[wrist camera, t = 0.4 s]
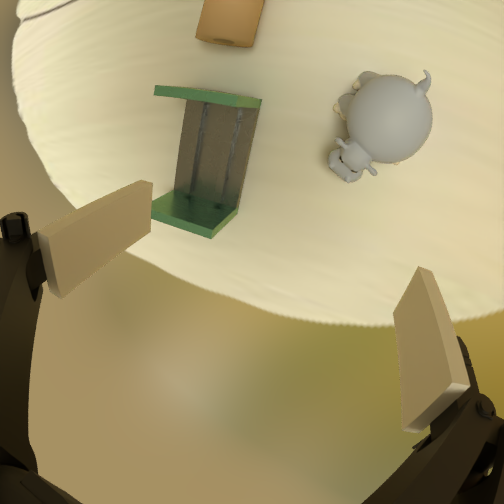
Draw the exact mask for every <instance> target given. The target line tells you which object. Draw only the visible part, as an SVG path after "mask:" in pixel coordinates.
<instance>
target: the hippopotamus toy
mask: <svg viewBox="0 0 504 504" xmlns="http://www.w3.org/2000/svg"><path fill="white" fill-rule="evenodd" d="M423 71H424V73H425V74H426V79H423V80H421V81H420V82H419V83H418V84H417V85H415V84H414V83H413V82H411V81H410V80H408V79H406V78H404V77H402V76H397V75H383V76H381V75H379V74H376V73H374V72H370V71H366V72H363V73H362V74H360V76H359V78H358V80H357V81H356V82H355V83H354V84H353V88H354V89H355V90H358V92H357V93H356V94H355V95H352V94H345V95H343V96H341V97H340V99H339V101H338V103H337V104H335V105H334V107H333V110H334V111H335V112H337V113H340V117H341V118H342V119H343V120H347V130H348V134H349V137H350V138H348V139H347V140H346V141H344V142H343V140H342V139H341V138H339V137H336V138H335V142H336V143H337V144H338V145H340V146H341V148H339V149H335V150H333V151H331V152H330V154H329V158H328V166H329V168H330V169H331V170H332V171H333V172H334V173H336V174H337V175H338V176H339V177H340V178H341V179H343V180H344V181H346V182H347V183H350V182H355V181H357V180H359V179H360V178H361V176H362V172H363V169H365V168H366V169H367V170H368V171H369V172H370V173H371V174H372V175H373V176H376V175H377V171H376V170H375V169H374V168H372V167H371V166H370V163H371V162H372V161H375V162H379V163H393V164H394V165H398V164H399V163H400V162H401V161H403V160H406V159H408V158H409V157H411V156H412V155H414V154H415V153H416V152H417V151H418V150H419V149H420V148H421V147H422V146H423V144H424V143H425V141H426V140H427V138H428V136H429V134H430V131H431V128H432V109H431V105H430V102H429V100H428V98H427V97H426V95H425V94H426V93H427V91H428V89H429V88H430V85H431V76H430V74H429V72H428V71H427V70H423Z"/></svg>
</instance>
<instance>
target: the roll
mask: <svg viewBox="0 0 504 504" xmlns="http://www.w3.org/2000/svg"><path fill="white" fill-rule="evenodd" d="M263 3H264V0H205V1H204V5H203V9H202V12H201V16H200V20H199V24H198V28H197V32H196V36H195V37H196V38H197V39H199V40H202V41H206V42H210V43H215V44H221V45H228V46H238V47H251V46H253V42H254V38H255V34H256V30H257V26H258V22H259V18H260V14H261V10H262V6H263Z"/></svg>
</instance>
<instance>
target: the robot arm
mask: <svg viewBox="0 0 504 504" xmlns="http://www.w3.org/2000/svg"><path fill="white" fill-rule="evenodd" d="M152 188H153V183H151V182H147V181H143V180H139V181H137V182H135V183H133V184H130V185H128V186H126V187H123V188H121V189H119V190H117V191H115V192H112V193H110V194H108V195H106V196H104V197H102V198H100V199H98V200H95V201H93V202H91V203H89V204H87V205H85V206H83V207H81V208H79V209H77V210H75V211H73V212H71V213H70V214H68V215H66V216H64V217H62V218H60V219H58V220H56V221H54V222H53V223H51V224H49V225H47V226H45V227H44V228H42V229H40V230H38V231H37V232H36V233H33V234H32V235H31V233H30V227H29V221H28V215H27V214H26V213H24V212H14V213H10V214H8V215H6V216H4V217H3V218H1V219H0V227H1V232H2V237H3V238H0V504H82V503H80V502H79V501H78V500H76V499H75V498H73V497H72V496H71V495H69V494H68V493H67V492H65V491H63V490H62V489H60V488H58V487H57V486H55V485H53V484H52V483H50V482H49V481H47V480H45V479H44V478H42V477H41V476H39V475H38V468H37V462H36V458H35V454H34V452H33V449H32V447H31V445H30V442H29V437H28V401H29V381H30V369H31V360H32V351H33V344H34V337H35V330H36V324H37V319H38V313H39V308H40V303H41V299H42V294H43V287H42V283H43V282H45V281H46V280H47V282H48V286H49V290H50V292H51V293H52V294H54V295H55V296H57V297H59V298H60V299H62V298H64V297H65V296H66V295H67V294H68V293H70V292H71V291H72V290H74V289H75V288H76V287H77V286H79V285H80V284H81V283H82V282H83V281H85V280H86V279H87V278H89V277H90V276H91V275H93V274H94V273H95V272H96V271H98V270H99V269H100V268H102V267H103V266H104V265H106V264H107V263H108V262H110V261H111V260H112V259H114V258H115V257H116V256H118V255H119V254H120V253H122V252H123V251H124V250H126V249H127V248H128V247H130V246H131V245H133V244H134V243H135V242H137V241H138V240H139V239H141V238H142V237H144V236H145V235H147V234H148V233H149V232H150V231H151V206H152ZM393 316H394V323H395V330H396V339H397V348H398V358H399V370H400V383H401V384H400V385H401V406H402V431H408V432H416V433H420V432H421V431H422V430H424V429H425V428H426V427H427V426H428V425H430V430H431V434H429V435H428V436H426V437H425V438H424V439H423V440H421V441H420V442H419V443H417V444H416V445H415V446H413V447H412V448H413V449H415V448H416V449H415V450H414V451H413V452H412V454H411V455H410V456H409V457H408V458H407V459H406V460H405V462H404V463H403V464H402V465H401V466H400V467H399V468H398V469H397V470H396V471H395V472H394V473H393V474H392V475H391V476H390V477H389V478H388V479H387V480H386V481H385V482H384V483H383V484H382V485H381V486H380V487H379V488H378V489H377V490H376V491H375V492H374V493H373V494H372V495H370V496H369V497H368V498H367V499H366V500H365V501H364V502H363V503H362V504H504V420H503V419H502V418H499V417H498V416H496V410H495V407H494V405H493V403H492V401H491V400H490V399H489V398H488V397H487V396H485V395H484V394H480V393H479V389H478V385H477V381H476V377H475V374H474V370H473V367H471V366H472V364H471V360H470V359H469V353H468V351H467V347H466V345H465V344H464V342H463V341H462V339H461V338H460V337H458V336H456V334H455V331H454V328H453V325H452V322H451V319H450V316H449V313H448V311H447V308H446V305H445V303H444V300H443V297H442V295H441V292H440V290H439V287H438V285H437V283H436V280H435V278H434V275H433V273H432V271H430V270H427V269H424V268H422V267H419V266H418V268H417V270H416V272H415V274H414V276H413V277H412V279H411V281H410V283H409V285H408V287H407V289H406V291H405V292H404V294H403V296H402V298H401V300H400V301H399V303H398V305H397V307H396V308H395V310H394V312H393ZM492 467H493V469H492V472H491V473H490V475H488V476H487V474H488V470H489V469H490V468H492Z"/></svg>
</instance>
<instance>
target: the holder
mask: <svg viewBox="0 0 504 504" xmlns="http://www.w3.org/2000/svg"><path fill="white" fill-rule="evenodd" d="M154 95H157V96H166V97H175V98H183V99H187V103H186V109H185V114H184V120H183V127H182V133H181V140H180V146H179V154H178V161H177V169H176V177H175V185H174V190H173V191H171V192H169V193H167V194H165V195H163V196H161V197H159V198H157V199H155V200H154V201H152V206H151V219H154V220H157V221H160V222H163V223H166V224H168V225H171V226H174V227H177V228H180V229H183V230H186V231H189V232H192V233H195V234H198V235H201V236H203V237H206V238H209V239H212V238H213V237H214V236H215V235H216V234H217V233H218V232H219V231H220V230H221V229H222V228H223V227H224V226H225V225H226V224H227V223H228V222H229V221H230V220H231V219H232V218H233V217H234V216H235V215H237V212H238V207H239V202H240V198H241V193H242V188H243V183H244V179H245V174H246V169H247V164H248V160H249V155H250V151H251V146H252V142H253V137H254V132H255V128H256V123H257V119H258V115H259V110H260V106H261V101H262V100H261V99H257V98H252V97H246V96H241V95H236V94H230V93H224V92H217V91H211V90H203V89H196V88H186V87H175V86H160V85H155V91H154Z"/></svg>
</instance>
